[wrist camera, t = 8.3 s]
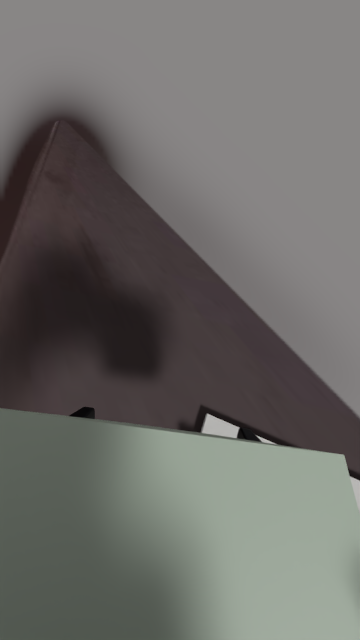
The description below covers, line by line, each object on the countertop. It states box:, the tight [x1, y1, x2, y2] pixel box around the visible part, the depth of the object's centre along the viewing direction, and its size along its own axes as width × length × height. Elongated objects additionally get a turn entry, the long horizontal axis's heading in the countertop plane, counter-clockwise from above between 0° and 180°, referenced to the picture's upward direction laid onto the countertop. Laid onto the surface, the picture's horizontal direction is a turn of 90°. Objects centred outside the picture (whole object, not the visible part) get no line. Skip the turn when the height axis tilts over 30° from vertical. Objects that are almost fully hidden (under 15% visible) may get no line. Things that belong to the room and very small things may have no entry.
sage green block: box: [0, 408, 360, 640], centre depth 7 cm, size 2×6×11 cm, turn 83°
